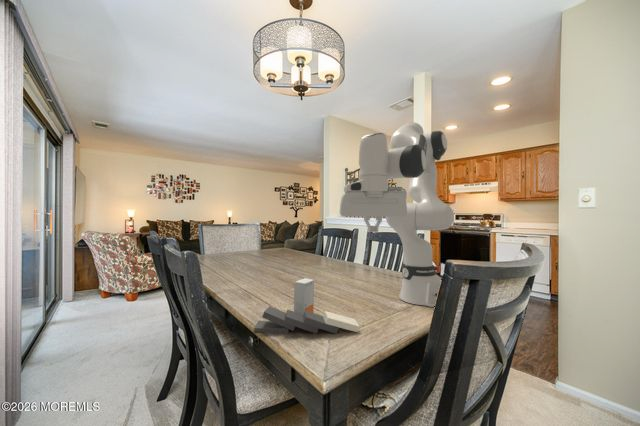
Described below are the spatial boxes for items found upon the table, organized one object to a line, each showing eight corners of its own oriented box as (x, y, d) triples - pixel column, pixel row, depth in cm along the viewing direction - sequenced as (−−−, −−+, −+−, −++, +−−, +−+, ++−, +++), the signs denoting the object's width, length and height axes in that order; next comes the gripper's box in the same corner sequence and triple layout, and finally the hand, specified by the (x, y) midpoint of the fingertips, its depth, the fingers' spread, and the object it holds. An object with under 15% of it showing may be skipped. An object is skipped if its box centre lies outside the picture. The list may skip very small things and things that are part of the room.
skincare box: (303, 320, 82) (304, 283, 82) (293, 317, 84) (293, 281, 84) (314, 314, 87) (314, 279, 87) (304, 311, 89) (304, 277, 89)
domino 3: (317, 320, 78) (287, 309, 78) (318, 328, 73) (286, 316, 73) (315, 325, 78) (285, 314, 78) (316, 333, 73) (283, 322, 73)
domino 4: (335, 320, 78) (305, 310, 77) (338, 328, 73) (306, 317, 72) (333, 326, 78) (303, 315, 77) (336, 334, 73) (303, 323, 72)
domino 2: (290, 321, 79) (258, 320, 79) (288, 328, 74) (254, 328, 74) (290, 326, 79) (258, 326, 79) (288, 334, 74) (254, 334, 74)
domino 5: (354, 319, 79) (324, 310, 78) (359, 326, 74) (327, 317, 73) (353, 324, 79) (322, 316, 78) (357, 332, 74) (325, 323, 73)
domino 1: (298, 318, 78) (269, 306, 80) (295, 325, 74) (264, 311, 75) (296, 324, 79) (267, 311, 80) (293, 331, 74) (262, 317, 75)
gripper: (402, 187, 81) (402, 231, 81) (339, 187, 80) (338, 231, 80) (410, 185, 75) (410, 232, 75) (341, 185, 74) (341, 232, 74)
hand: (372, 231), depth 78 cm, fingers closed
